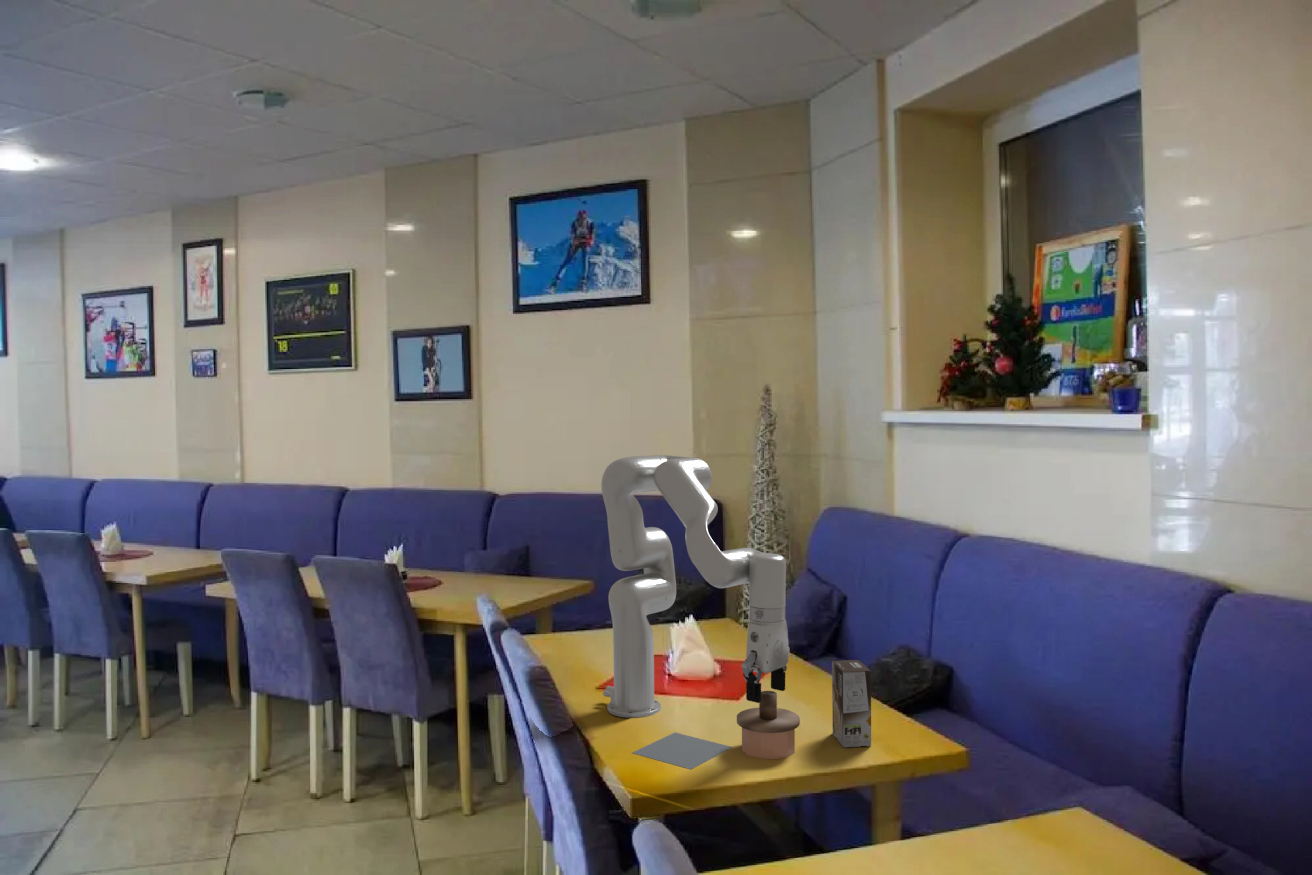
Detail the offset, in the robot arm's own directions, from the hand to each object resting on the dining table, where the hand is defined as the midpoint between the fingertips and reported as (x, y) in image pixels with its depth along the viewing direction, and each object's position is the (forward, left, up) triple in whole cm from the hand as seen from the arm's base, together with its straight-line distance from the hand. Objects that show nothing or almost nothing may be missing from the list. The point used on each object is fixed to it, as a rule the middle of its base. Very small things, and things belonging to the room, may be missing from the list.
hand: (765, 695), depth 196 cm
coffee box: (+12, +16, -12) cm, 23 cm away
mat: (-13, -11, -12) cm, 21 cm away
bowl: (+1, 0, -12) cm, 12 cm away
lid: (+1, 0, -6) cm, 6 cm away
